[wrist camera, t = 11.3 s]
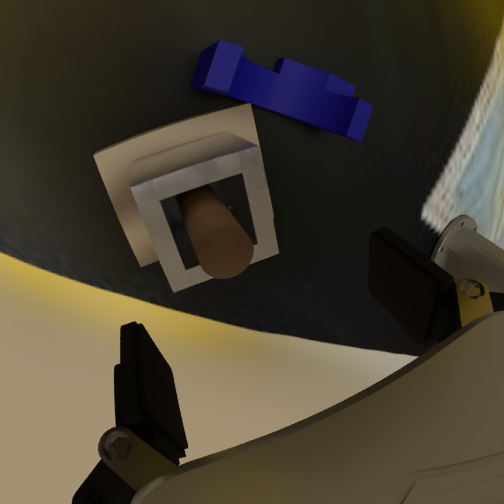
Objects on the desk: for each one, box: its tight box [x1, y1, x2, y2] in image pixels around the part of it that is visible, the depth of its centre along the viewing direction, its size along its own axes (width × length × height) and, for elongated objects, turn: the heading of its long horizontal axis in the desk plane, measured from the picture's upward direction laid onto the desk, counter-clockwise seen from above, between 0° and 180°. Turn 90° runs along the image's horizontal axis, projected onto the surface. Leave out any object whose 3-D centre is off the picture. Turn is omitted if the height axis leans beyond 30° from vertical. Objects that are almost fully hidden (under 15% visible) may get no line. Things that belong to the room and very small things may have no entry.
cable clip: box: [190, 40, 374, 142], centre depth 20 cm, size 12×4×6 cm, turn 72°
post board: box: [94, 102, 274, 279], centre depth 19 cm, size 10×12×12 cm
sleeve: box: [130, 132, 279, 292], centre depth 19 cm, size 7×7×6 cm
